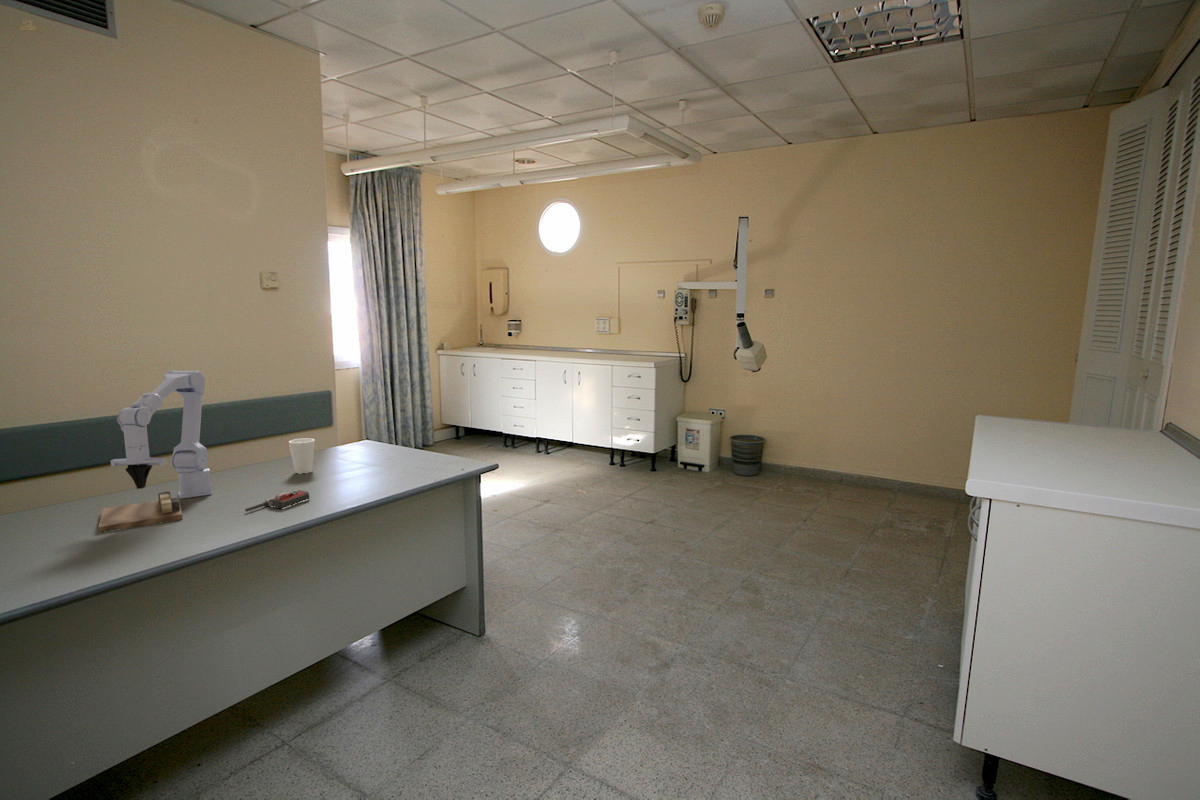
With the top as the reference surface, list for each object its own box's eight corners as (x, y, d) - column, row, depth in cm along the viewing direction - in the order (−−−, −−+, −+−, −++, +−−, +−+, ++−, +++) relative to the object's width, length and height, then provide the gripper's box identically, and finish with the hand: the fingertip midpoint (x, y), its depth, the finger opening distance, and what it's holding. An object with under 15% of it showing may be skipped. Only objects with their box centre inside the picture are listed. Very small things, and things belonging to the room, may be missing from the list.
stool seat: (179, 502, 201) (178, 488, 200) (182, 519, 185) (181, 504, 184) (103, 513, 189) (101, 499, 188) (99, 532, 173) (97, 517, 172)
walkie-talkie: (295, 496, 210) (243, 513, 192) (294, 484, 210) (242, 500, 191) (313, 499, 207) (263, 517, 189) (313, 487, 207) (262, 504, 188)
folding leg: (158, 501, 195) (157, 492, 195) (170, 499, 197) (169, 491, 197) (161, 513, 184) (160, 504, 184) (173, 511, 186) (172, 502, 186)
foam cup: (309, 475, 236) (307, 443, 234) (286, 474, 236) (284, 443, 234) (320, 468, 246) (318, 438, 244) (298, 468, 246) (296, 437, 244)
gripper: (102, 449, 179) (107, 492, 181) (155, 448, 181) (159, 490, 183) (117, 443, 186) (121, 485, 188) (168, 443, 188) (171, 484, 190)
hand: (141, 487), depth 186 cm, fingers closed
